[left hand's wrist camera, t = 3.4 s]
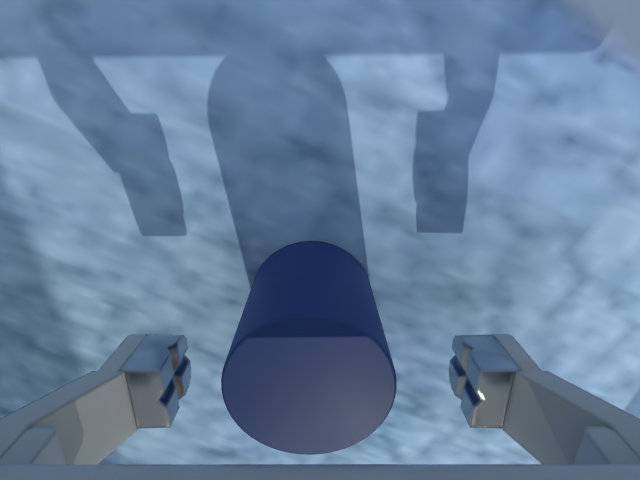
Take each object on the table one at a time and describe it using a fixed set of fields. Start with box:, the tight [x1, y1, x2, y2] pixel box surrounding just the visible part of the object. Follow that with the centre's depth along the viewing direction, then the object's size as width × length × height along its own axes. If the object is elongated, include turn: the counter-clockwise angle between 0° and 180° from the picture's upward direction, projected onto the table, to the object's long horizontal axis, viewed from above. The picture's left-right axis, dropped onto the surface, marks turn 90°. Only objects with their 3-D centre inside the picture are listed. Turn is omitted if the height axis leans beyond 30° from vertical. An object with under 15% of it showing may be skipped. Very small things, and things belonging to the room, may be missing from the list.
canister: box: [221, 241, 396, 454], centre depth 11 cm, size 4×4×4 cm
